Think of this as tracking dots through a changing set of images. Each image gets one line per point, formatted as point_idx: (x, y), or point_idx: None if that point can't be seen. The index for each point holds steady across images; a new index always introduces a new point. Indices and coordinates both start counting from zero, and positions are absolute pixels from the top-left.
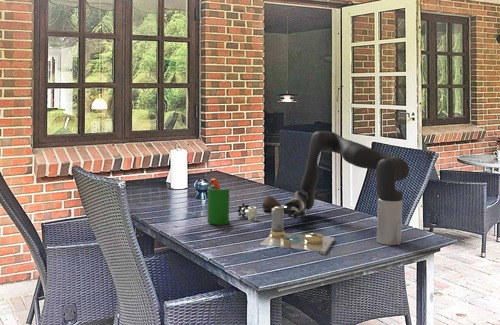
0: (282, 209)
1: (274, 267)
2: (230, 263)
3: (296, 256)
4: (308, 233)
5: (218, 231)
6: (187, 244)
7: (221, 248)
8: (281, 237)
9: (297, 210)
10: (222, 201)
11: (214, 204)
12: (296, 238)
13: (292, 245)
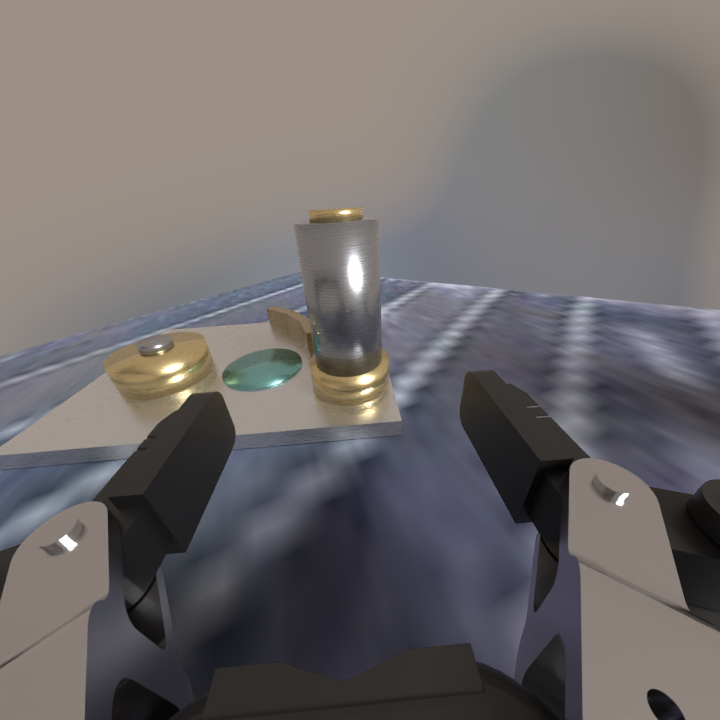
0: (300, 223)
1: (298, 289)
2: (380, 281)
3: (256, 318)
4: (177, 356)
5: (701, 379)
6: (557, 295)
7: (458, 302)
8: (305, 319)
9: (25, 630)
10: None
11: None
12: (248, 374)
13: (266, 332)
